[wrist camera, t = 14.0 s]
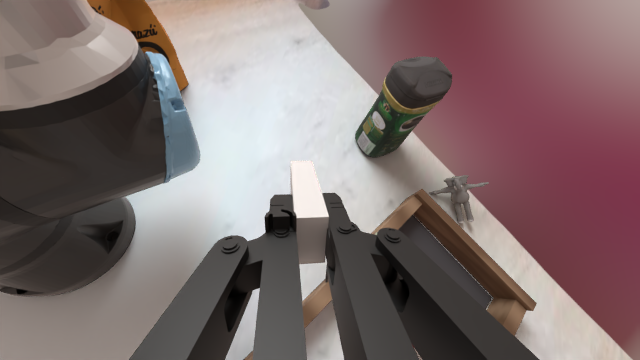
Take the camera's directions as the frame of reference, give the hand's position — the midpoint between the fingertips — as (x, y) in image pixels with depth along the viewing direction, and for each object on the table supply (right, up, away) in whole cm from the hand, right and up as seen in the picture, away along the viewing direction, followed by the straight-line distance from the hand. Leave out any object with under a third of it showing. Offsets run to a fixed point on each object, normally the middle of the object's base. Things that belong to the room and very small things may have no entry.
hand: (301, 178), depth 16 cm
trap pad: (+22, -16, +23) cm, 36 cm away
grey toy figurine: (+28, -5, +30) cm, 42 cm away
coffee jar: (+13, +8, +33) cm, 36 cm away
